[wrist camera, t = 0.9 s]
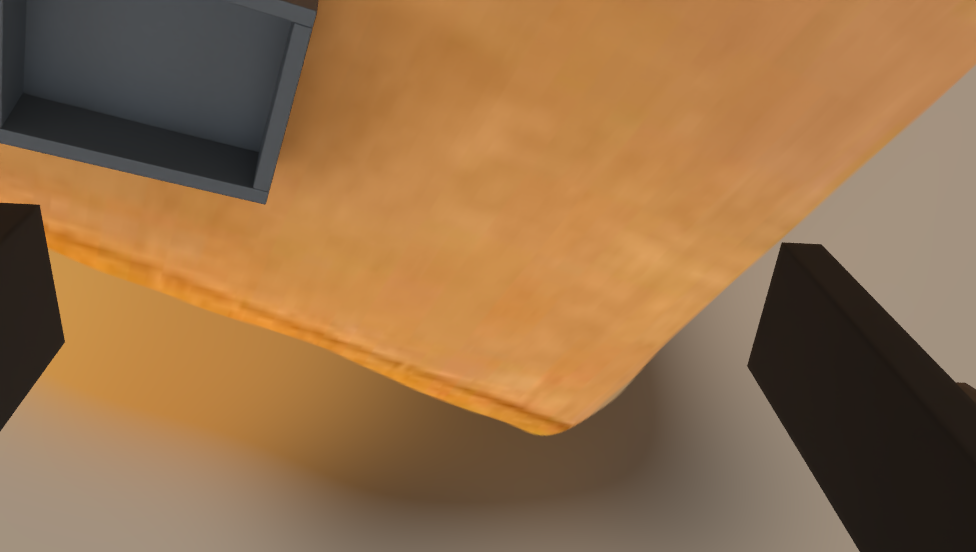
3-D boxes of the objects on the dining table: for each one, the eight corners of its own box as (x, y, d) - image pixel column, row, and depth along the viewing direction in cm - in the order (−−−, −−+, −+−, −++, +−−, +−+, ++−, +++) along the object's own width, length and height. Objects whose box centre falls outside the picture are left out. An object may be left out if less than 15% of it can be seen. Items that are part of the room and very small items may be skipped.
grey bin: (13, -125, 33) (-20, -95, 30) (321, -25, 37) (317, 11, 34) (8, 96, 39) (-19, 138, 37) (272, 162, 43) (265, 205, 41)
